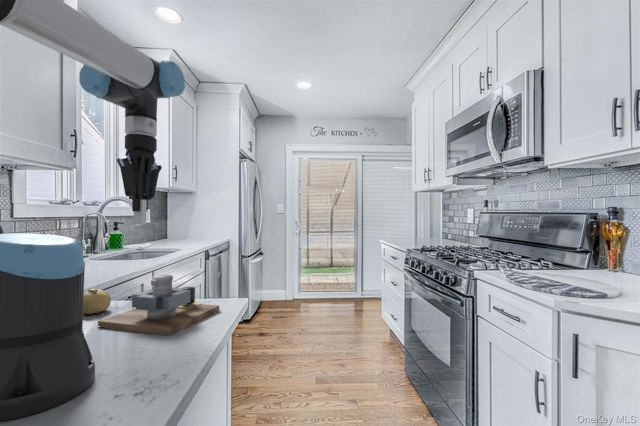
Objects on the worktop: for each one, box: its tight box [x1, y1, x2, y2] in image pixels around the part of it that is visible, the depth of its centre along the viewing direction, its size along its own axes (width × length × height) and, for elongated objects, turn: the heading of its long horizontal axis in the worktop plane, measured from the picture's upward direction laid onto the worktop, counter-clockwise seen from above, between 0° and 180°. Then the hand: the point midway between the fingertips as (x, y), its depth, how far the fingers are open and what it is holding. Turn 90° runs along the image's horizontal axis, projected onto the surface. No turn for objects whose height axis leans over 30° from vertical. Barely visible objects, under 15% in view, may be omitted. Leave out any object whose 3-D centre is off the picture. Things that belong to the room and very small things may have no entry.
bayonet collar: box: [131, 286, 196, 311], centre depth 84 cm, size 17×10×5 cm, turn 165°
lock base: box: [97, 274, 220, 337], centre depth 84 cm, size 20×20×12 cm
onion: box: [83, 287, 112, 315], centre depth 89 cm, size 8×8×7 cm
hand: (139, 224), depth 87 cm, fingers closed
